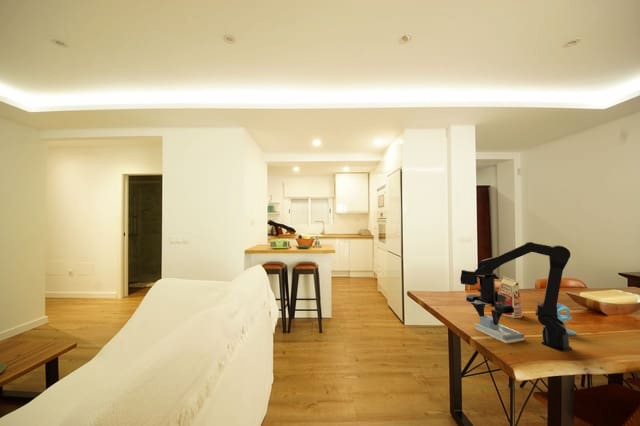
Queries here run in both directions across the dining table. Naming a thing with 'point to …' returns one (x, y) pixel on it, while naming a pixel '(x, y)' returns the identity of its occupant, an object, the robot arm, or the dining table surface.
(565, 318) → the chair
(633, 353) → the dining table surface
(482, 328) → the board
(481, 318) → the block
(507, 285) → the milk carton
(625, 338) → the dining table surface
